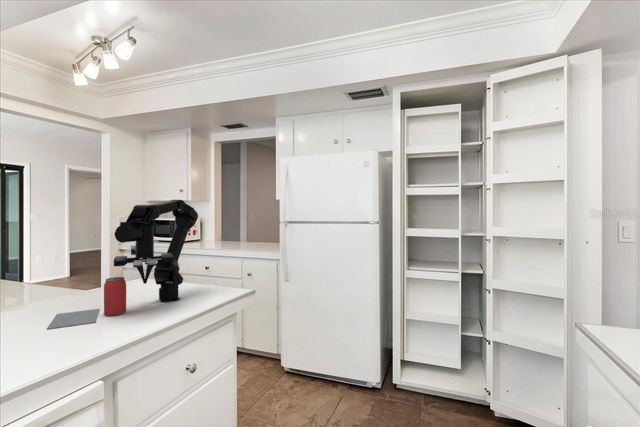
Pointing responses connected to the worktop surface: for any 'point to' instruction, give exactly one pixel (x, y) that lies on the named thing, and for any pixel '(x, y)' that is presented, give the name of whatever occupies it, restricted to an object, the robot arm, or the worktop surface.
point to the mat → (74, 318)
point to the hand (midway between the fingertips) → (145, 283)
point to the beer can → (114, 296)
